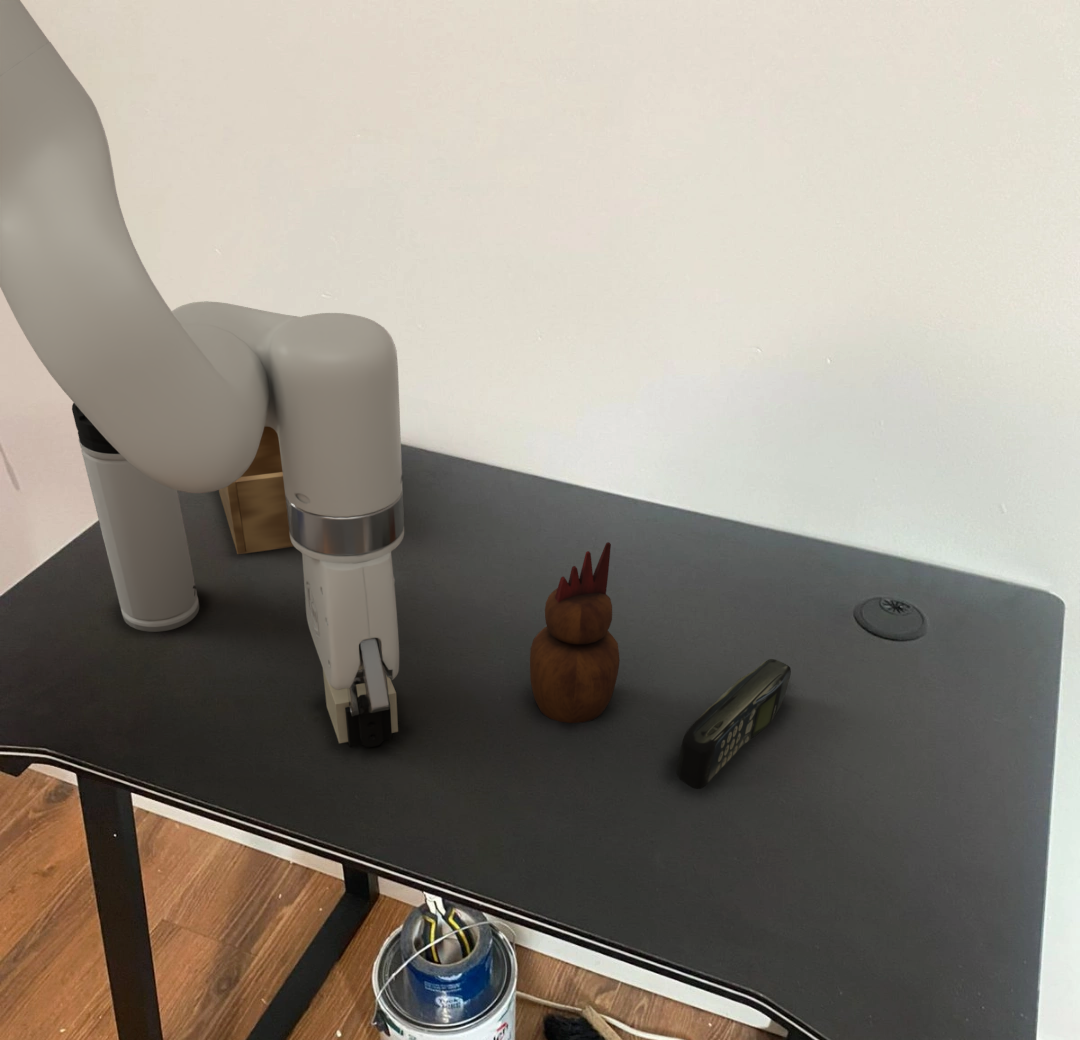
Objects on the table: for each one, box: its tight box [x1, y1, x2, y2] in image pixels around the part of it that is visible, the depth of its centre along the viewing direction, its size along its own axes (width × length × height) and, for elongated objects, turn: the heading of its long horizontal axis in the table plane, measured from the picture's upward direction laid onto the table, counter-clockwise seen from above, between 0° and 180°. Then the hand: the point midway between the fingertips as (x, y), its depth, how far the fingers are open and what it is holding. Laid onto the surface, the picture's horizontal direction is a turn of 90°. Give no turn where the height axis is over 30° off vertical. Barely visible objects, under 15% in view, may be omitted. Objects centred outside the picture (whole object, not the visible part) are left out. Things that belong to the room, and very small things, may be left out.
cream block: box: [322, 667, 399, 744], centre depth 81 cm, size 4×4×4 cm
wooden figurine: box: [529, 542, 620, 724], centre depth 80 cm, size 7×6×15 cm
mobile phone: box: [676, 658, 792, 790], centre depth 81 cm, size 5×3×15 cm
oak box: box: [218, 426, 294, 555], centre depth 102 cm, size 11×12×8 cm
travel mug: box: [71, 402, 200, 633], centre depth 85 cm, size 6×7×20 cm
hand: (362, 722), depth 82 cm, fingers closed on cream block, 4 cm apart
